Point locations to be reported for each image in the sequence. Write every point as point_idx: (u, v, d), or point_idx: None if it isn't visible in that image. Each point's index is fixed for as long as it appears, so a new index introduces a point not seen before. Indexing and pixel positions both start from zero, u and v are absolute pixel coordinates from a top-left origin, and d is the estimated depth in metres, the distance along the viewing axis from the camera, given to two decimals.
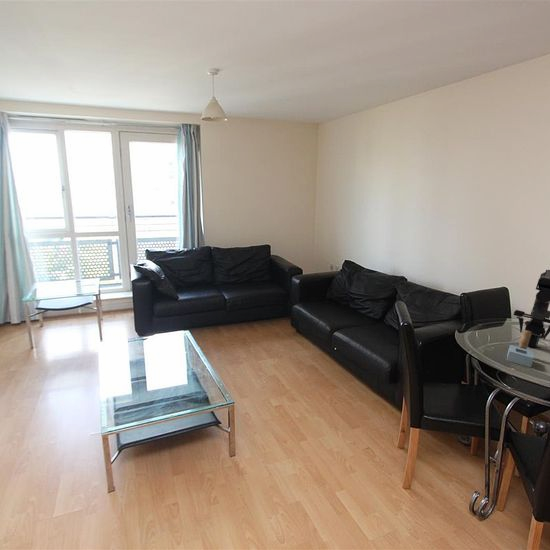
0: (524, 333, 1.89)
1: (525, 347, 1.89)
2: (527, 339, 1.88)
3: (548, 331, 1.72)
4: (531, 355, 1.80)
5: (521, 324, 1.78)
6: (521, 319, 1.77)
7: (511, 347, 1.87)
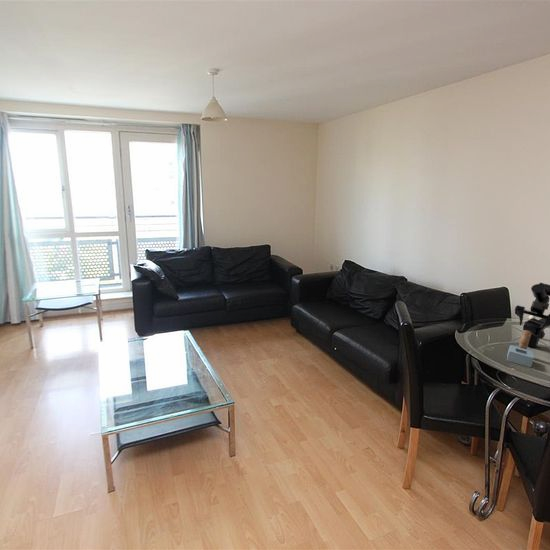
0: (524, 333, 1.89)
1: (525, 347, 1.89)
2: (527, 339, 1.88)
3: (545, 323, 1.90)
4: (531, 355, 1.80)
5: (521, 317, 1.97)
6: (521, 312, 1.97)
7: (511, 347, 1.87)
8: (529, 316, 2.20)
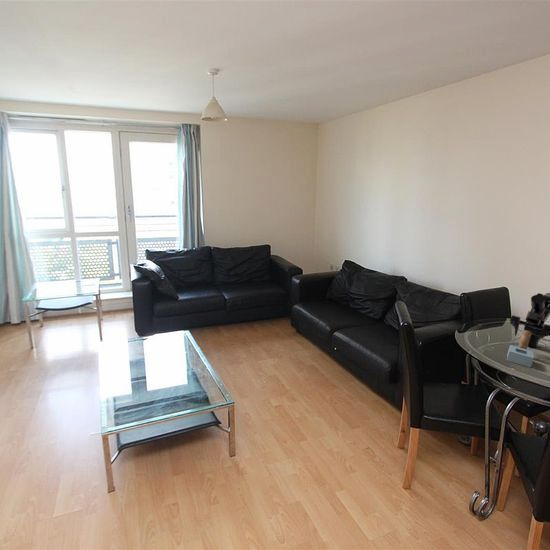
0: (524, 333, 1.89)
1: (525, 347, 1.89)
2: (527, 339, 1.88)
3: (540, 334, 1.88)
4: (531, 355, 1.80)
5: (516, 327, 1.95)
6: (517, 322, 1.95)
7: (511, 347, 1.87)
8: None
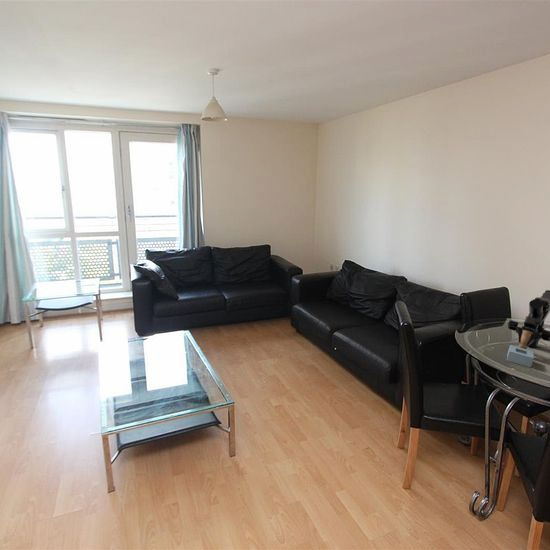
0: (524, 333, 1.89)
1: (525, 347, 1.89)
2: (527, 339, 1.88)
3: (532, 337, 1.88)
4: (531, 355, 1.80)
5: (520, 334, 1.92)
6: (520, 329, 1.92)
7: (511, 347, 1.87)
8: None
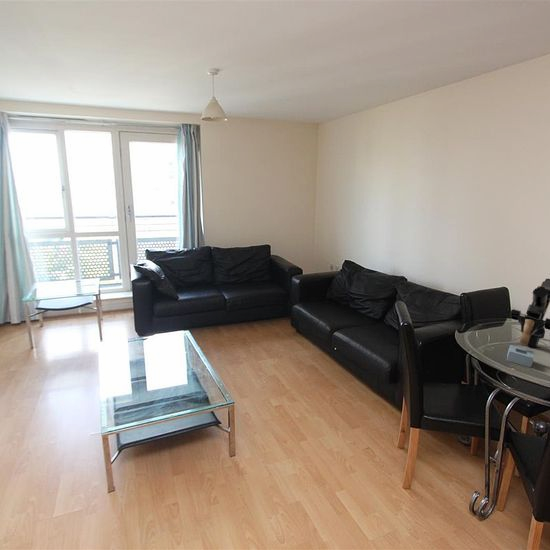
0: (527, 322, 1.82)
1: (528, 336, 1.83)
2: (530, 328, 1.82)
3: (535, 327, 1.82)
4: (531, 355, 1.80)
5: (523, 323, 1.85)
6: (523, 318, 1.86)
7: (511, 347, 1.87)
8: None
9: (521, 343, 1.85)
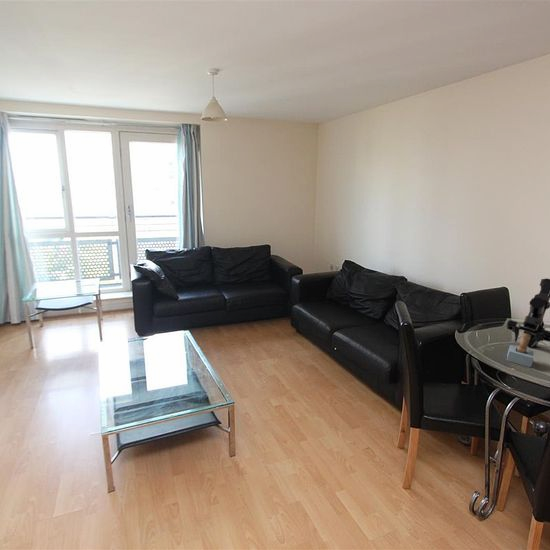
0: (523, 336, 1.81)
1: (524, 351, 1.82)
2: (526, 342, 1.81)
3: (535, 339, 1.80)
4: (531, 355, 1.80)
5: (516, 333, 1.85)
6: (517, 328, 1.85)
7: (511, 347, 1.87)
8: None
9: None
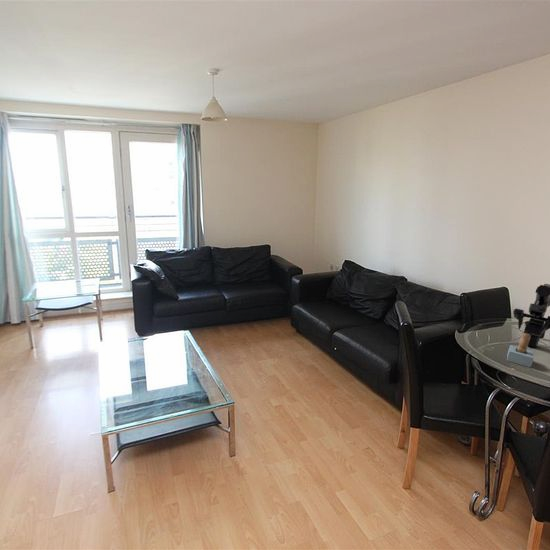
0: (523, 336, 1.81)
1: (524, 351, 1.82)
2: (526, 342, 1.81)
3: (544, 326, 1.84)
4: (531, 355, 1.80)
5: (520, 320, 1.92)
6: (520, 315, 1.93)
7: (511, 347, 1.87)
8: None
9: None
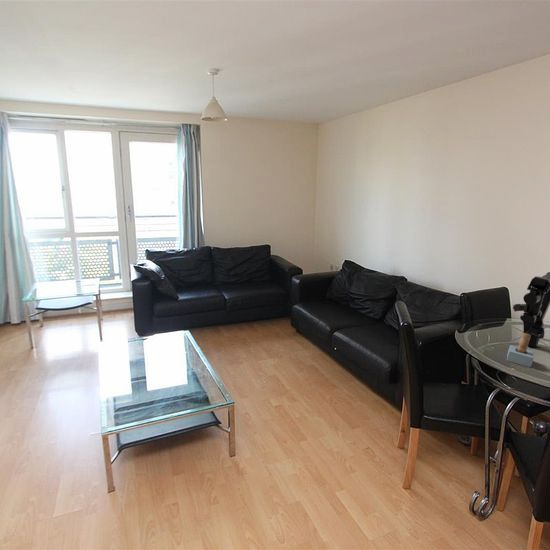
0: (523, 336, 1.81)
1: (524, 351, 1.82)
2: (526, 342, 1.81)
3: None
4: (531, 355, 1.80)
5: None
6: None
7: (511, 347, 1.87)
8: None
9: None
